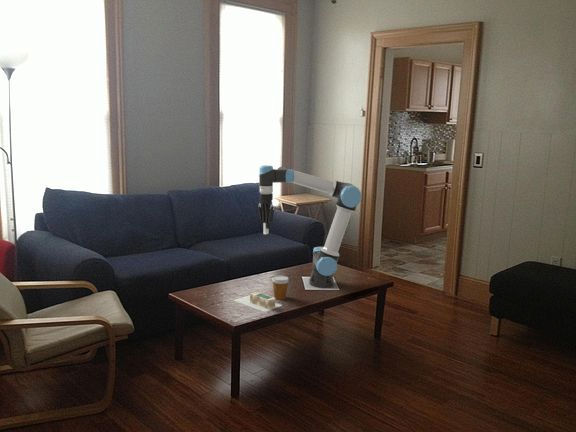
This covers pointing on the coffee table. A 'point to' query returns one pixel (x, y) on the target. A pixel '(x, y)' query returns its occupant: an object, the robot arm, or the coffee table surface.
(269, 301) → the block
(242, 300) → the mat
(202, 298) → the coffee table surface
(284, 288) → the disposable coffee cup
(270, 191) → the robot arm
